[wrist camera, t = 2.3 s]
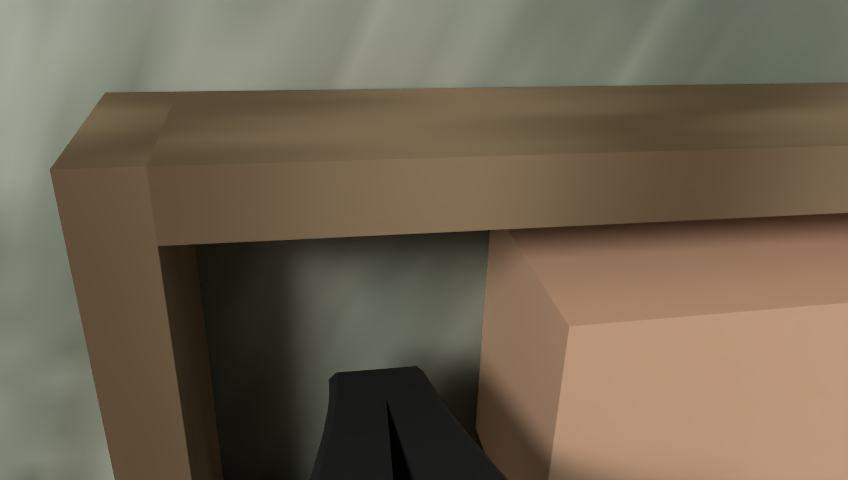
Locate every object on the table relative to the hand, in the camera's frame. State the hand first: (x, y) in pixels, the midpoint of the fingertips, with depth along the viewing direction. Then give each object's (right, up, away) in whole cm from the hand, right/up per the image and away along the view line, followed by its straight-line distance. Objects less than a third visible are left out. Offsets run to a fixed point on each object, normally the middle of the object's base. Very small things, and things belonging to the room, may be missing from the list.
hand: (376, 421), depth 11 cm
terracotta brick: (+6, +1, +3) cm, 7 cm away
